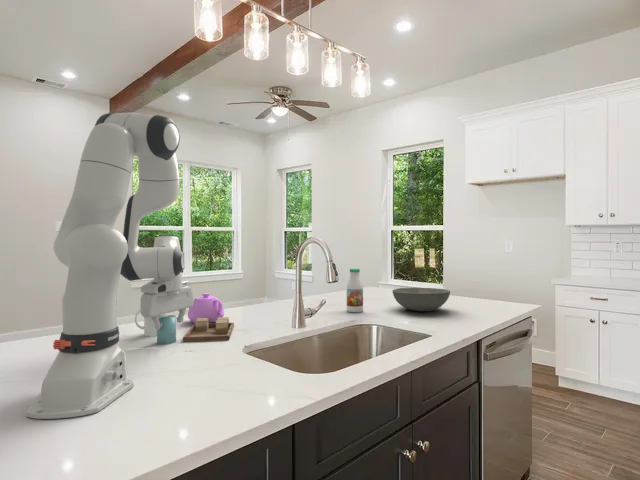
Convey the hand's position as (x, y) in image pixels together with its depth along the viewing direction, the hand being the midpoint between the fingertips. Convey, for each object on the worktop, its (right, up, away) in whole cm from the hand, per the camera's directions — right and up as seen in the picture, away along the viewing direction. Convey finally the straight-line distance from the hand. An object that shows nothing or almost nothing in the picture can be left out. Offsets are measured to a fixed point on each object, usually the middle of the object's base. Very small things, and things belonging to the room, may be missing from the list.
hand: (169, 325), depth 133 cm
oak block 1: (+6, -5, +16) cm, 18 cm away
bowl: (+98, -5, +54) cm, 112 cm away
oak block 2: (+14, -5, +17) cm, 23 cm away
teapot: (+3, -6, +29) cm, 30 cm away
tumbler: (-1, -6, 0) cm, 6 cm away
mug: (-10, -6, +10) cm, 16 cm away
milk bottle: (+67, -5, +53) cm, 85 cm away
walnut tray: (+11, -6, +10) cm, 16 cm away
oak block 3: (+14, -5, +12) cm, 20 cm away
